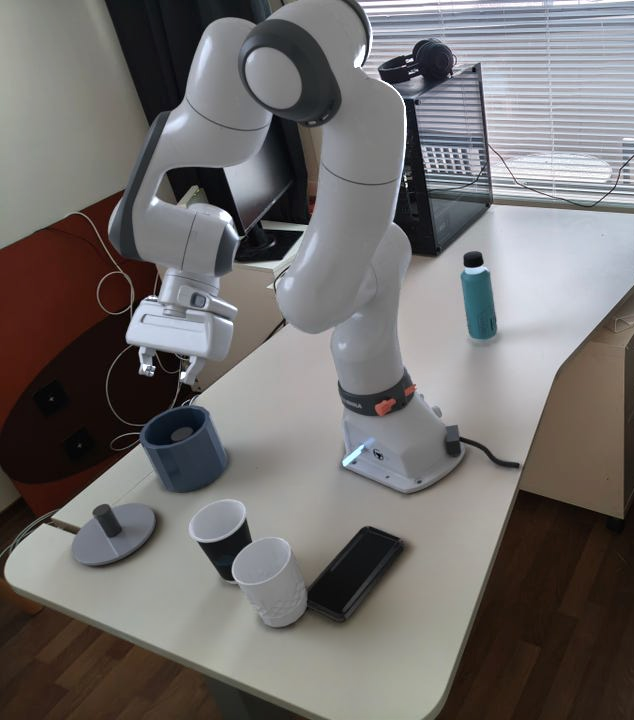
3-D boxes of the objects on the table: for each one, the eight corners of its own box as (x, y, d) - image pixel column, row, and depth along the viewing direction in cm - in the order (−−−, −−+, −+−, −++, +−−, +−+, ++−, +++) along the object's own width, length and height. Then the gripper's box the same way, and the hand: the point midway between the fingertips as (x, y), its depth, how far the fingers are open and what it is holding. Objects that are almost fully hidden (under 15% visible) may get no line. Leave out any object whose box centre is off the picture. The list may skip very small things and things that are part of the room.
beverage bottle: (495, 346, 147) (486, 261, 136) (465, 345, 149) (453, 261, 138) (501, 330, 152) (492, 246, 141) (471, 330, 154) (460, 247, 143)
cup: (239, 465, 124) (221, 421, 118) (178, 502, 117) (156, 458, 112) (209, 439, 131) (191, 397, 125) (150, 472, 125) (128, 430, 119)
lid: (170, 532, 112) (155, 505, 108) (91, 582, 105) (73, 554, 101) (139, 497, 119) (124, 470, 116) (63, 541, 113) (46, 514, 109)
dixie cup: (249, 542, 108) (228, 490, 102) (277, 567, 103) (256, 515, 97) (203, 574, 103) (178, 523, 97) (230, 602, 98) (205, 550, 92)
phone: (405, 540, 103) (341, 619, 93) (407, 545, 104) (343, 624, 93) (364, 523, 107) (298, 597, 96) (366, 528, 107) (300, 602, 97)
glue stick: (211, 467, 123) (196, 432, 119) (192, 478, 121) (176, 443, 117) (202, 458, 126) (187, 424, 121) (183, 469, 124) (167, 435, 119)
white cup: (290, 574, 101) (267, 528, 96) (324, 599, 97) (303, 551, 91) (246, 614, 97) (219, 567, 91) (279, 642, 92) (254, 594, 86)
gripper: (129, 288, 118) (106, 367, 116) (218, 300, 110) (195, 385, 108) (158, 299, 124) (137, 374, 122) (245, 311, 116) (224, 392, 114)
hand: (165, 379), depth 115 cm, fingers open, 8 cm apart
